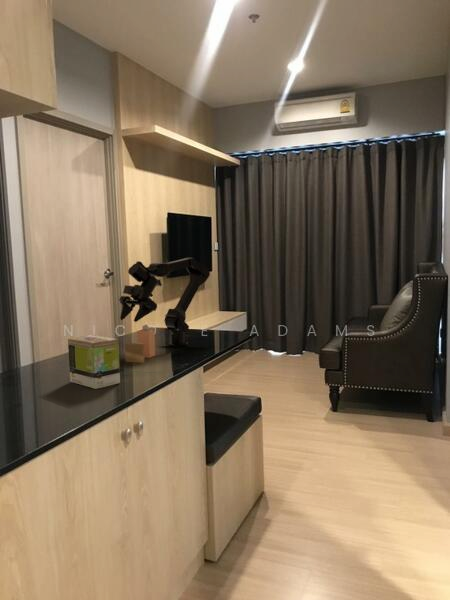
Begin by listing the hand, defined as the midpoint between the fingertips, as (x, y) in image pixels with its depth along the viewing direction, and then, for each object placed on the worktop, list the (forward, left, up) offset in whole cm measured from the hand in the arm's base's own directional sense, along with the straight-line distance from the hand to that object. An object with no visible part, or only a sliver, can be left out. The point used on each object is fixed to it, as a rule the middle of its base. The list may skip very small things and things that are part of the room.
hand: (127, 320), depth 208 cm
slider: (-2, +13, -13) cm, 18 cm away
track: (-1, +13, -14) cm, 19 cm away
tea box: (+25, +33, -14) cm, 44 cm away
